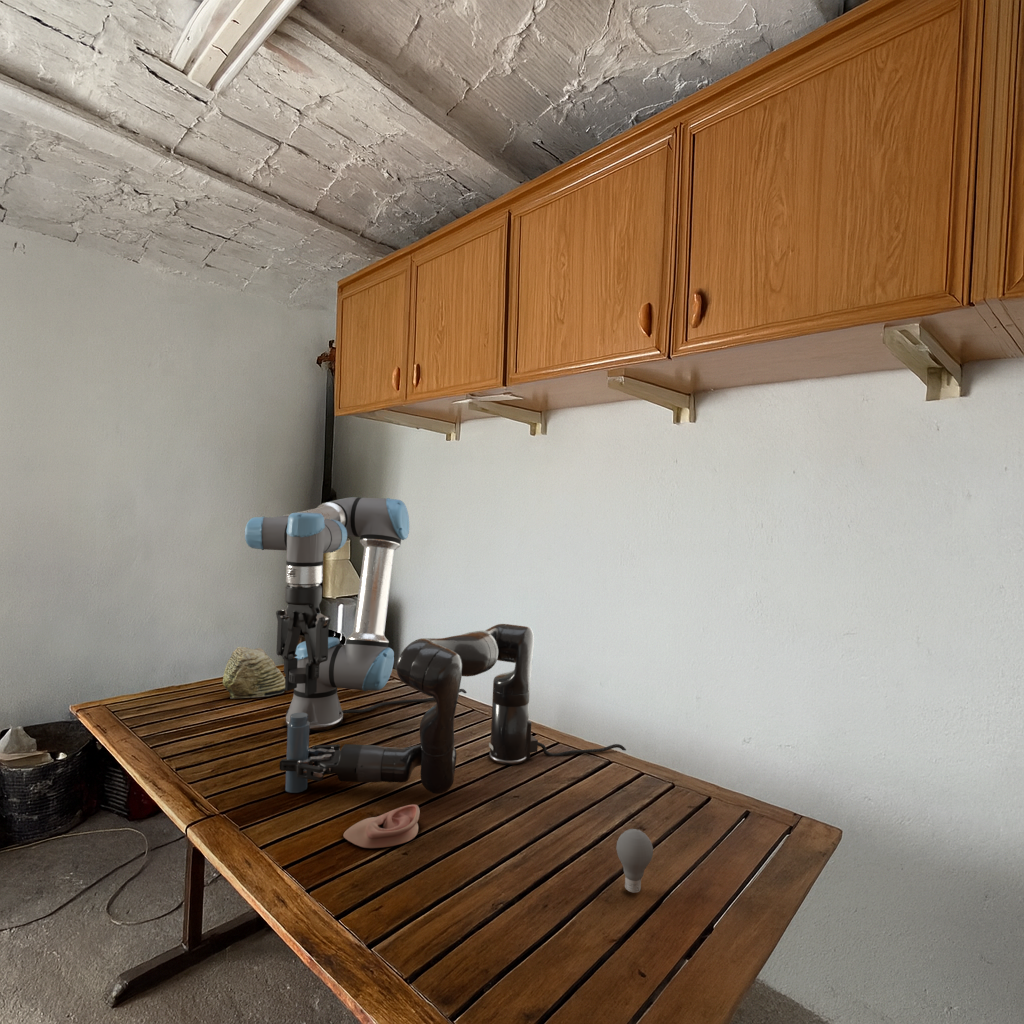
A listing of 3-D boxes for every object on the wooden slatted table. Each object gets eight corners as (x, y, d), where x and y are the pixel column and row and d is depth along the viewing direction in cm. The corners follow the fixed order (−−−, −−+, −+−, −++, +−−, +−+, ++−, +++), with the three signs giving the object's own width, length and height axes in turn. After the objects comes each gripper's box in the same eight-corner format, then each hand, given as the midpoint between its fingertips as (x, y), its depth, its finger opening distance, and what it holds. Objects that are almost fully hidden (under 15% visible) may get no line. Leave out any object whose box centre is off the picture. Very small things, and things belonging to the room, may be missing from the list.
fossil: (218, 695, 195) (220, 647, 195) (278, 685, 208) (279, 640, 207) (228, 703, 189) (230, 653, 188) (289, 692, 201) (290, 645, 201)
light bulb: (610, 879, 108) (613, 822, 108) (644, 879, 109) (647, 822, 109) (619, 902, 102) (622, 840, 102) (655, 901, 103) (658, 840, 103)
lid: (289, 677, 139) (289, 667, 139) (313, 676, 140) (314, 666, 140) (287, 684, 134) (287, 674, 134) (313, 683, 135) (313, 673, 135)
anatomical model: (336, 822, 116) (363, 794, 127) (335, 843, 116) (362, 813, 127) (404, 832, 113) (426, 803, 124) (403, 854, 113) (425, 823, 124)
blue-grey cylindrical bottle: (305, 792, 135) (307, 718, 135) (282, 793, 135) (285, 718, 134) (309, 783, 140) (311, 711, 139) (287, 783, 139) (290, 711, 139)
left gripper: (259, 582, 137) (256, 688, 138) (323, 591, 129) (320, 703, 130) (286, 578, 144) (283, 679, 144) (348, 586, 136) (344, 694, 137)
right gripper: (371, 733, 144) (296, 730, 144) (355, 759, 130) (272, 755, 130) (370, 766, 144) (295, 763, 144) (354, 795, 130) (271, 792, 130)
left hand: (300, 691), depth 137 cm, fingers closed on lid, 5 cm apart
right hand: (285, 759), depth 137 cm, fingers closed on blue-grey cylindrical bottle, 4 cm apart
